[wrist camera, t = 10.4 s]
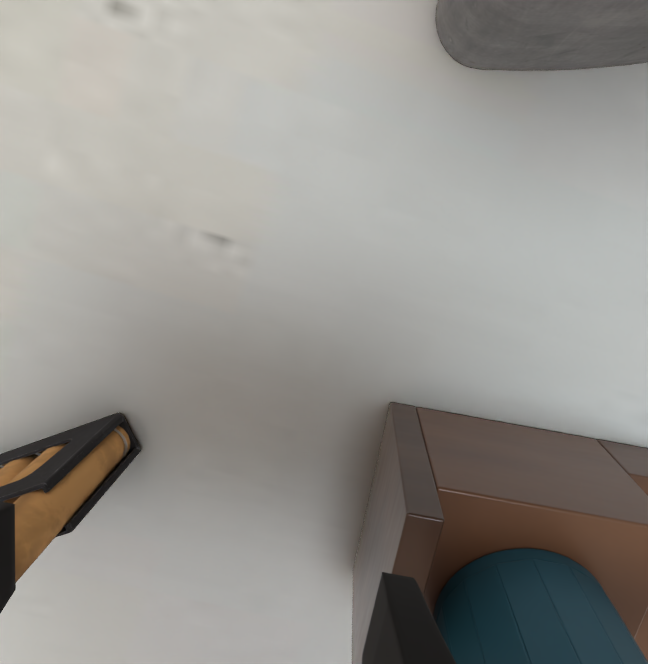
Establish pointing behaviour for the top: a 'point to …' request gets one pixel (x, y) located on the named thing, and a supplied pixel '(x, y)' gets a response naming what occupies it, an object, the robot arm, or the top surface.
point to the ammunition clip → (62, 481)
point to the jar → (531, 613)
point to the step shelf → (500, 508)
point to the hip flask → (544, 33)
